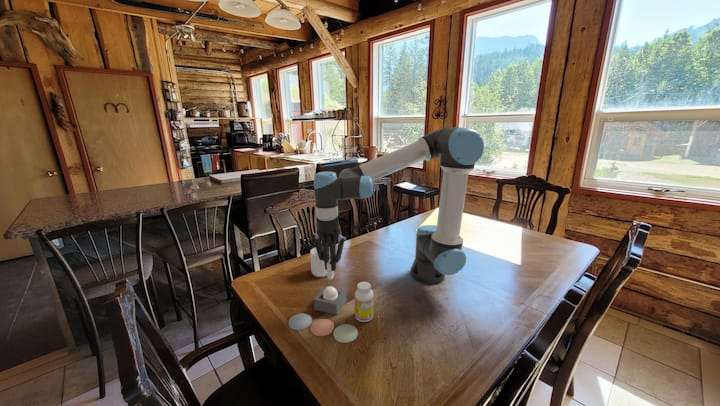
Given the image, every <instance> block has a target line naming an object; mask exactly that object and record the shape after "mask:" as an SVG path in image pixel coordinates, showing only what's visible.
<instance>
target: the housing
mask: <svg viewBox="0 0 720 406" xmlns="http://www.w3.org/2000/svg"><path fill="white" fill-rule="evenodd" d="M327 287H328V286H323V288H321V290H320V292H318V294H317V295H316V296H315V297H314V299H313V307H314V311H318V312H322V313H326V314H331V315H335V316H338V314H339V312H340V311H341V309H342V308H343V306H344V305H345V303H346V302H347V290H345V289H341V288H340V289H339V288H335V287H334V288H335V289H336V290H337V292H338V297H337V299H336V300H335V301H331V300H326V299H323V292H324V290H325V289H326V288H327Z"/></svg>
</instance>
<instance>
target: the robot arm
mask: <svg viewBox="0 0 720 406" xmlns="http://www.w3.org/2000/svg"><path fill="white" fill-rule="evenodd" d="M484 150H485V142H484V139H483V137H482V135H481V134H480V133H479V132H478V131H476V130H475V129H473V128H469V127H464V126H463V127H457V126H455V127H454V126H453V127H452V126H445V127H441V128H438V129H437V130H435V131H432V132H429V133H428V134H426V135H423V136H421V137H419V138H418V140H417V141H415V142H413V143H410V144H409V145H406V146H403V147H401V148H399V149H396V150H393V151H390V152H389V153H386V154H384V155H382V156H379V157H377V158H374V159H372V160H369V161H367V162H365V163H362V164H360V165H357V166H355V167H352V168H344V169H343V170H341V172H340V173H339V175H338V176H337V173H336V172H334V171H320V172H317V173H315V174H314V176H313V188H314V201H315V202H314V203H315V216H316V228H317V230H316V232H314V233H312V234H311V235H310V237H311V239H312V241H313V243H314V245H315V248H316V250H317V253H318V256H319V259H320V260H323V261H324V262H325V270H327V276H326V277H327V279H328V280H331V281H332V280H333V278H334V277H335V271H336V269H337V264H338V263H339V262H340V260H341V259H342V254H343V249H344V246H345V245H344V244H345V242H346V241H347V236H345V235H344V236H343V235H342V234H341V232H340V229H339V227H340V226H339V225H340V222H339V219H340V218H339V217H338V216H339V205H338V204H339V202H338V201H344V200H357V199H360V200H363V199H368V198H371V197H372V196H373V193H374V188H373V187H374V185H373V184H374V181H377V180H379V179H381V178H383V177H386V176H388V175H391V174H393V173H396V172H398V171H400V170H403V169H406V168H408V167H410V166H413V165H415V164H418V163H420V162H422V161H426V162H430V161H432V160H434V159H440V160H439V161H440V162H439V166H440V168H441V169H442V171H443V172H442V180H441V181H442V182H441V190H440V197H439V208H438V212H437V223H436V225H433V224H426V225H421V226H419V227H418V228H417V229H416V234H415V235H416V240H415V241H416V242H415V258H414V259H413V260H414V261H413V262H412V264H411V267H410V276H411V277H412V279H414V280H415V281H417V282H418V283H422V284H427V285H428V284H430V285H433V284H434V285H436V284H440V283H443V281H445V279H446V276H452V275H455V274H457V273H459V272H460V271H462V269H463V268H465V265H466V263H467V255H466V253H465V251H464V250H462V249H463V243H464V239H463V238H462V236H461V235H460V234H461V228H462V227H461V226H462V221H463V214H464V207H465V202H466V201H465V200H466V195H467V194H466V193H467V187H468V179H469V175H470V172H472V171H473V170H474V169H475V164H476V163H477V162H479V159H481V158H482V156H483V154H484ZM337 239H338V243H337V247H336V242H337ZM336 248H337V249H336ZM329 249H330V254H329ZM329 259H330V260H329Z"/></svg>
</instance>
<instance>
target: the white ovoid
mask: <svg viewBox="0 0 720 406" xmlns="http://www.w3.org/2000/svg"><path fill="white" fill-rule="evenodd" d="M336 289H337V288H336ZM336 289H335V286H327V288H326V289H325V290H324V292H323V299H326V300H331V301H335V300H336V299H337V297H338V292H337V290H336Z"/></svg>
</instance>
